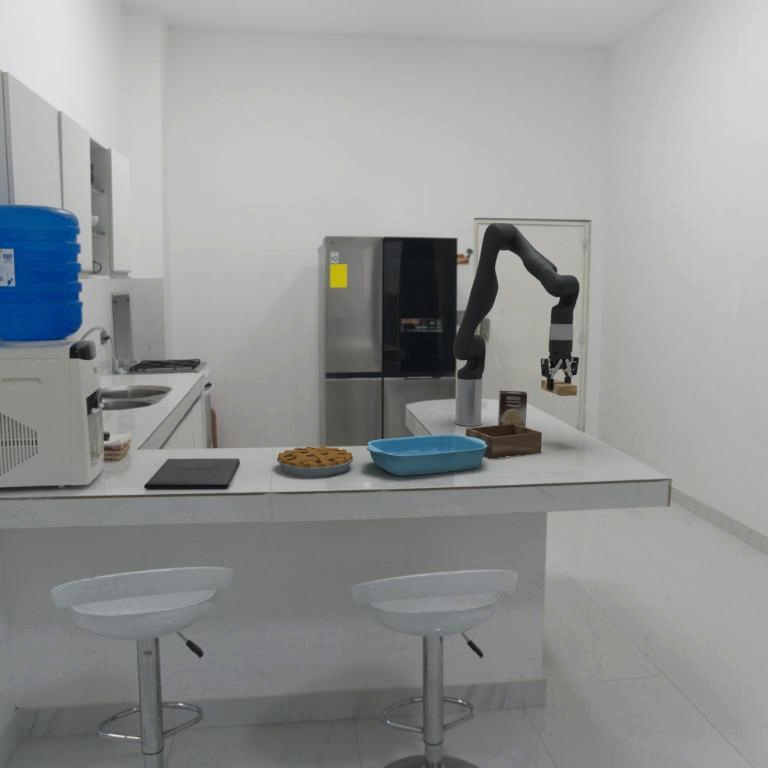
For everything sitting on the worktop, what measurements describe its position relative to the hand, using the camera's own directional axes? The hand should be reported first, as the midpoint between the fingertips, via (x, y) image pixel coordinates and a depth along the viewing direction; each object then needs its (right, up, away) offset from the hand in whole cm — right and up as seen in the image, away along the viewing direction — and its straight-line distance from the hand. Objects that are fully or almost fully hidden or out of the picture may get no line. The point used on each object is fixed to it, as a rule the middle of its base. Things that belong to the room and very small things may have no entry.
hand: (558, 389), depth 241 cm
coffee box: (-13, -17, +12) cm, 25 cm away
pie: (-76, -23, -27) cm, 84 cm away
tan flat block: (0, -1, 0) cm, 1 cm away
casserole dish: (-44, -23, -24) cm, 55 cm away
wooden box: (-19, -19, -5) cm, 28 cm away
